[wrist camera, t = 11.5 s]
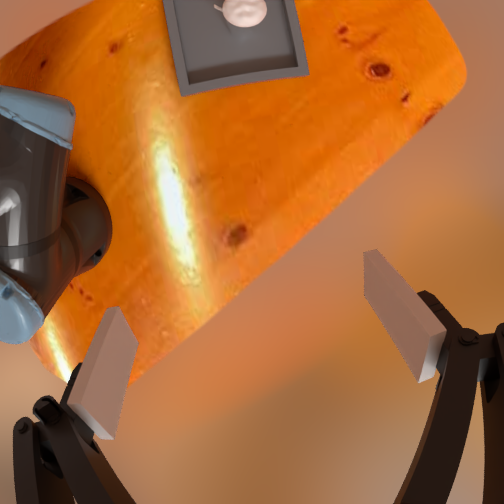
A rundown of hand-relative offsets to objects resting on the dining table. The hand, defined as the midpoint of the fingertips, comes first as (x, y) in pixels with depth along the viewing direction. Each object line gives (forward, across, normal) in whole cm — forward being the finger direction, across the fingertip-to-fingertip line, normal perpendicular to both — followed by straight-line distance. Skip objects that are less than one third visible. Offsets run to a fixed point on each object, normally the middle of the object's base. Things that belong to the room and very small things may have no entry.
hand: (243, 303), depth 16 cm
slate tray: (+29, +5, +20) cm, 35 cm away
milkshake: (+28, +5, +20) cm, 35 cm away
